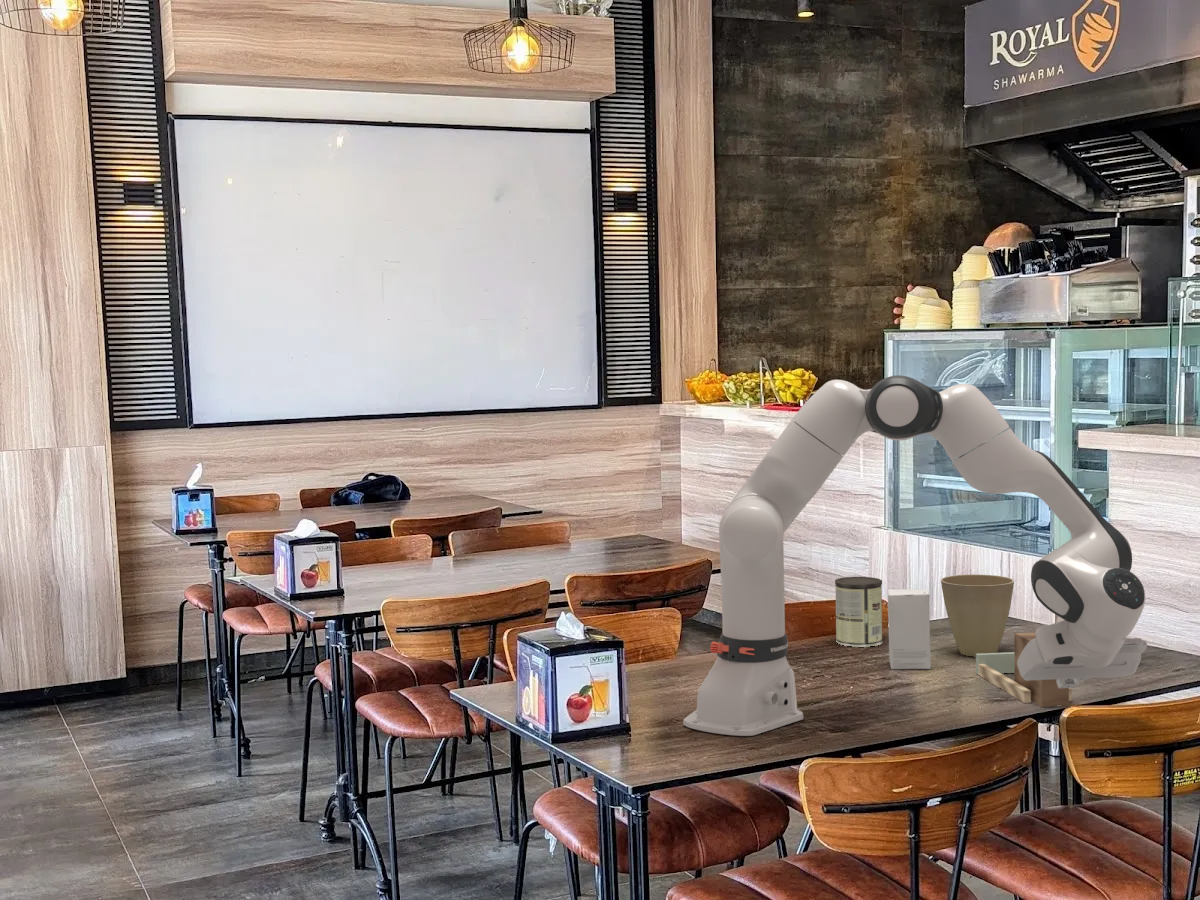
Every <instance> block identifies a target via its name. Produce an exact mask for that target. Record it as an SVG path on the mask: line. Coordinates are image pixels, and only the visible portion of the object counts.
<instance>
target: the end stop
mask: <svg viewBox="0 0 1200 900" xmlns="http://www.w3.org/2000/svg"><path fill="white" fill-rule="evenodd" d="M978 664H985V665H987V666H989V667H990V668H992V669H994V670H996V671H997V672H999V673H1001V674H1002V673H1003V675H1005V674H1004V673H1014V674H1015V651H1013V652H1010V651H1009V652H997V653H981V654H976V657H975V674H976V675H977V674H978Z"/></svg>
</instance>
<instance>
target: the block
mask: <svg viewBox="0 0 1200 900" xmlns="http://www.w3.org/2000/svg"><path fill="white" fill-rule="evenodd" d="M1035 632H1036V631H1035ZM1035 632H1016V633H1014V652H1015V673H1014V677H1013V679H1014V680H1013V681H1015V682H1016V683H1018V684H1020V685H1021V686H1023V687H1025V688H1027V689H1028V690H1030V691H1031V702H1032V703H1034V704H1035V705H1036V706H1039V707H1040V708H1052V707H1051V706H1057V705H1061V706H1060V707H1069V705H1070V701H1069V688H1060V689H1059V688H1058V685H1057V683H1056V680H1057V679H1052V680H1029V681H1027V680H1024V679H1023V678H1022V676H1021V674H1020V672H1019V669H1018V665H1017V661H1018V658H1019V656H1020V654H1021V652H1022V651H1023V649H1024V648H1025V646H1026V645H1027V644H1028V643H1029V642H1030V641H1031V640H1032V639H1034V638H1036V634H1035Z"/></svg>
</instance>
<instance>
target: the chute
mask: <svg viewBox="0 0 1200 900" xmlns="http://www.w3.org/2000/svg"><path fill="white" fill-rule="evenodd" d="M979 675H980V676H979ZM978 676H979V677H981V678H982V677H983V678H982V679H984V678H985V679H984V680H986V679H987V680H988V681H987V680H986V681H987V682H989V683H991V684H992V685H994V686H995V685H996V686H995V687H997V688H998V689H1000V688H1001V689H1000V690H1002V691H1004V692H1005V691H1006V692H1005V693H1008V695H1010V696H1012V697H1014V698H1015V699H1017V700H1018V701H1020V702H1022V703H1024V704H1031V702H1032V701H1031V691H1030V690H1028V689H1027V688H1025V687H1023V686H1021V685H1020V684H1018V683H1016V682H1015V681H1014V680H1013V679H1012V678H1009V677H1007V676H1006V675H1005V674H1001V673H999V672H997V671H996V670H994V669H992V668H990V667H989V666H987V665H985V664H978ZM1072 692H1073V688H1069V702H1073V701H1072V699H1073V698H1072V697H1073V693H1072Z"/></svg>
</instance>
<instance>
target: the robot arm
mask: <svg viewBox="0 0 1200 900" xmlns="http://www.w3.org/2000/svg"><path fill="white" fill-rule="evenodd" d="M868 432H872V433H876V434H879V435H880V436H882V437H883V438H886V439H887V440H892V441H897V442H898V441H907V440H911V439H913V438H915V437H918V436H919V435H923V434H926V435H929V436H931V437H933V438H934V439H935V440H937V441H938V442H939V444H940V445H941V446H942V448H943V449H944V450H945V452H946V454H947V455H948V457H949V459H950V460H951V461H952V463H953V465H954V466H955V469H956V470H957V471H958V473H959V474H960V475H961V477H962V479H964V481H965V482H966V483H967V484H968V485H969V486H970V487H971V488H973V489H975V490H977V491H979V492H983V493H986V494H991V495H992V494H993V495H1002V494H1010V493H1011V494H1012V493H1028V494H1032V495H1035V496H1036V497H1038V498H1040V499H1041V500H1042V501H1043V502H1044V503H1045V504H1046V505H1047V506H1048V507H1049V509H1050V510H1051V511H1052V513H1054V515H1055V516H1056V517H1057V518H1058V520H1060V522H1061V523H1062V524H1063V525H1064V526H1065V527H1066V528H1067V530H1068V531H1069V532H1070V535H1071V539H1069V540H1068V541H1066V542H1065V543H1063V544H1062V545H1060V546H1058V547H1057V548H1055V549H1054V550H1052V551H1050V552H1049V553H1047V554H1046V555H1045V556H1043V557H1041V559H1039V560H1037V561H1035V563H1034V564H1033V565H1032V567H1031V573H1030V583H1031V588H1032V590H1033V593H1034V594H1035V597H1036V599H1037V600H1038V601H1039V603H1041V605H1043V607H1045V609H1047V610H1048V611H1050V612H1051V613H1052V614H1054V615H1056V616H1058V617H1059V618H1061V619H1063V620H1062V621H1057V622H1055V623H1052V624H1051V623H1050V624H1045V625H1042V626H1039V627H1037V628H1036V630H1035V634H1036V638H1034V639H1032V640H1031V641H1030V642H1029V643H1028V644H1027V645H1026V646H1025V648H1024V649H1023V651H1022V652H1021V654H1020V656H1019V658H1018V661H1017V665H1018V669H1019V672H1020V674H1021V676H1022V678H1023V679H1024V680H1027V681H1029V680H1052V679H1057V680H1056V683H1057V685H1058V688H1059V689H1060V688H1071V689H1076V687H1077V685H1078V684H1080V683H1082V682H1085V681H1086V680H1088V679H1094V678H1095V679H1097V678H1119V677H1121V678H1125V677H1130V676H1131V675H1133V674H1134V675H1135V673H1136V671H1137V669H1138V667H1139V665H1140V663H1141V660H1142V654H1143V653H1144V652H1145V650H1146V649H1147V647H1148V642H1147V641H1146V640H1143V639H1142V638H1140V637H1139V638H1138V637H1134V638H1133V637H1128V636H1129V635H1130V634H1131V632H1132V631H1133V630H1134V629H1135V626H1136V625H1137V624H1138V621H1139V619H1140V617H1141V615H1142V612H1143V610H1144V609H1145V608H1144V607H1145V603H1146V591H1145V587H1144V585H1143V583H1142V581H1141V580H1140V578H1139V577H1138V576H1136V575H1135V573H1133V572H1132V571H1131V570H1132V566H1133V553H1132V548H1131V545H1130V543H1129V541H1128V540H1127V538H1126V537H1125V536H1124V534H1122V533H1121V531H1120V530H1118V529H1117V528H1116V527H1114V525H1112V524H1111V523H1110V522H1108V521H1107V519H1105V518H1104V517H1103V516H1102V514H1101V513H1099V511H1098V510H1097V509H1096V508H1095V507H1094V505H1093V504H1092V503H1091V502H1090V501H1089V499H1087V497H1086V496H1085V495H1084V494H1083V493H1082V492H1081V491H1080V489H1079V488H1078V487H1077V486H1076V485H1075V483H1073V481H1072V480H1071V479H1070V477H1068V476H1067V474H1066V473H1065V471H1063V470H1062V469H1061V468H1060V467H1059V466H1058V464H1057V463H1056V462H1055V461H1054V460H1053V459H1051V458H1050V457H1049V456H1048V455H1046V454H1045V453H1044V452H1041V451H1039V450H1034V449H1032V448H1030V447H1029V446H1027V445H1026V444H1025V443H1024V442H1023V441H1022V440H1020V439H1019V438H1018V436H1017V435H1016V434H1015V432H1013V430H1012V428H1011V427H1010V426H1009V424H1008V422H1007V421H1006V419H1005V418H1004V417H1003V415H1002V414H1001V413H1000V411H999V410H998V409H997V408H996V406H995V405H994V404H993V403H992V402H991V400H990V399H988V397H987V396H986V394H984V393H983V392H982V391H981V390H980V389H979V388H978V387H977V386H974V385H972V384H970V383H958V384H954V385H952V386H949V387H947V388H944V389H943V390H941V391H938V390H936V389H934V388H932V387H930V386H928V385H926V384H924V383H923V382H921V381H918V379H915V378H912V377H910V376H906V375H901V374H900V375H891V376H887V377H884V378H883V379H881V380H879V381H878V382H877V383H875V384H874V386H872V388H868V389H863V388H860V387H859V386H857V385H856V384H855V383H851V382H850V381H846V380H843V379H831V380H828V381H827V382H825V383H824V384H823V385H822V386H821V387H819V388H818V389H817V390H816V391H815V392H814V393H813V394H812V395H811V396H810V397H809V398H808V399H807V401H806V402H804V404H803V405H802V406H801V408H799V410H798V411H797V413H795V414H794V416H793V418H792V419H791V420H790V421H789V423H788V424H787V426H786V427H785V428H784V430H783V431H782V433H781V434H780V435H779V437H778V438H777V439H776V440H775V442H774V443H773V444H772V446H771V448H770V449H769V450H768V452H767V453H766V454H765V456H764V457H763V458H762V460H761V461H760V462H759V464H758V465H757V467H756V468H754V470H753V471H752V473H751V474H750V476H749V477H748V479H747V480H746V481H745V482H744V484H743V485H742V486H741V488H740V489H739V491H737V493H736V494H735V496H734V497H733V498H732V500H731V501H730V503H729V504H728V506H727V507H726V509H725V511H724V512H723V515H722V516H721V519H720V521H719V524H718V526H719V527H718V531H719V532H718V536H719V537H718V538H719V563H720V578H721V579H720V580H721V582H720V583H721V593H722V594H721V604H722V606H721V607H722V608H721V611H722V612H721V613H722V614H721V616H722V617H721V618H722V625H721V626H722V632H721V634H720V636H719V640H718V642H717V641H711V642H710V645H709V646H710V647H709V649H710V651H711V653H712V654H716V656H717V658H716V661H715V662H714V664H713V666H712V667H711V669H710V670H709V672H708V674H706V677H705V679H704V680H703V682H702V684H701V685H700V686H699V688H698V691H697V697H696V709H695V710H694V711H693V712H691V713H690V714H688V715H687V716H685V718H683V723H682V725H683V726H685V727H686V728H689V729H693V730H696V731H700V732H706V733H710V734H711V733H712V734H719V735H727V736H735V737H736V736H738V737H739V736H740V737H751V736H752V737H753V736H757V735H759V734H761V733H766V732H768V731H771V730H775V729H778V728H781V727H784V726H786V725H790V724H792V723H795V722H799V721H802V720H804V713H803V711H801V710H800V709H798V703H797V692H796V691H797V690H796V680H795V672H794V670H793V668H792V667H791V665H790V664H789V661H788V659H787V655H788V653H789V652H788V651H789V650H788V647H789V641H788V635H787V633H786V627H785V626H786V624H785V623H786V621H785V620H786V619H785V618H786V617H785V616H786V615H785V613H786V612H785V610H786V609H785V561H784V559H785V558H784V549H785V547H784V534H785V532H786V531H787V530H788V529H789V528H790V525H792V524H793V522H794V521H795V520H796V519H797V517H798V516H799V514H800V513H801V512H802V511H803V509H804V508H805V507H806V506H807V505H808V503H809V502H810V501H811V499H813V498H814V497H815V495H816V494H817V493H818V491H819V490H820V489H821V487H822V486H823V485H824V484H825V482H826V481H827V479H829V477H830V475H831V474H832V473H833V472H834V470H835V469H836V467H837V465H839V463H840V462H841V461H842V459H843V458H844V456H846V454H847V453H848V451H849V450H850V448H851V447H852V445H854V443H855V442H856V441H857V439H859V438H860V437H861V436H862V435H864V434H865V433H868Z"/></svg>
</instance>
